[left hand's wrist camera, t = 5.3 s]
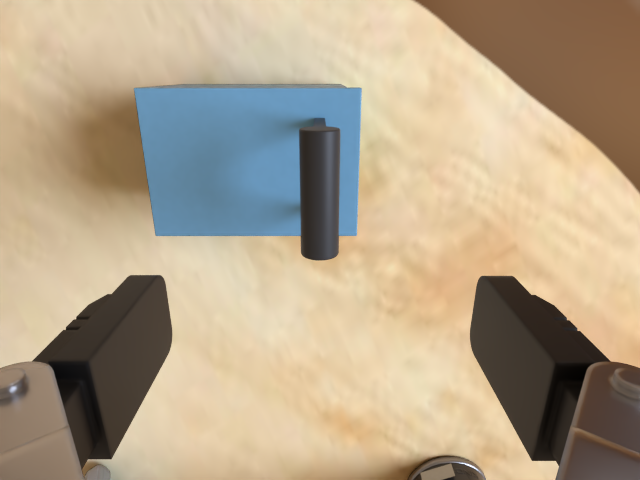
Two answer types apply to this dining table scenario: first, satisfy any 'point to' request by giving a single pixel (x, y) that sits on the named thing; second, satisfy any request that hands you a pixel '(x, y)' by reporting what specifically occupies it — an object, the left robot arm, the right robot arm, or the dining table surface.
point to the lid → (253, 162)
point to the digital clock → (98, 473)
